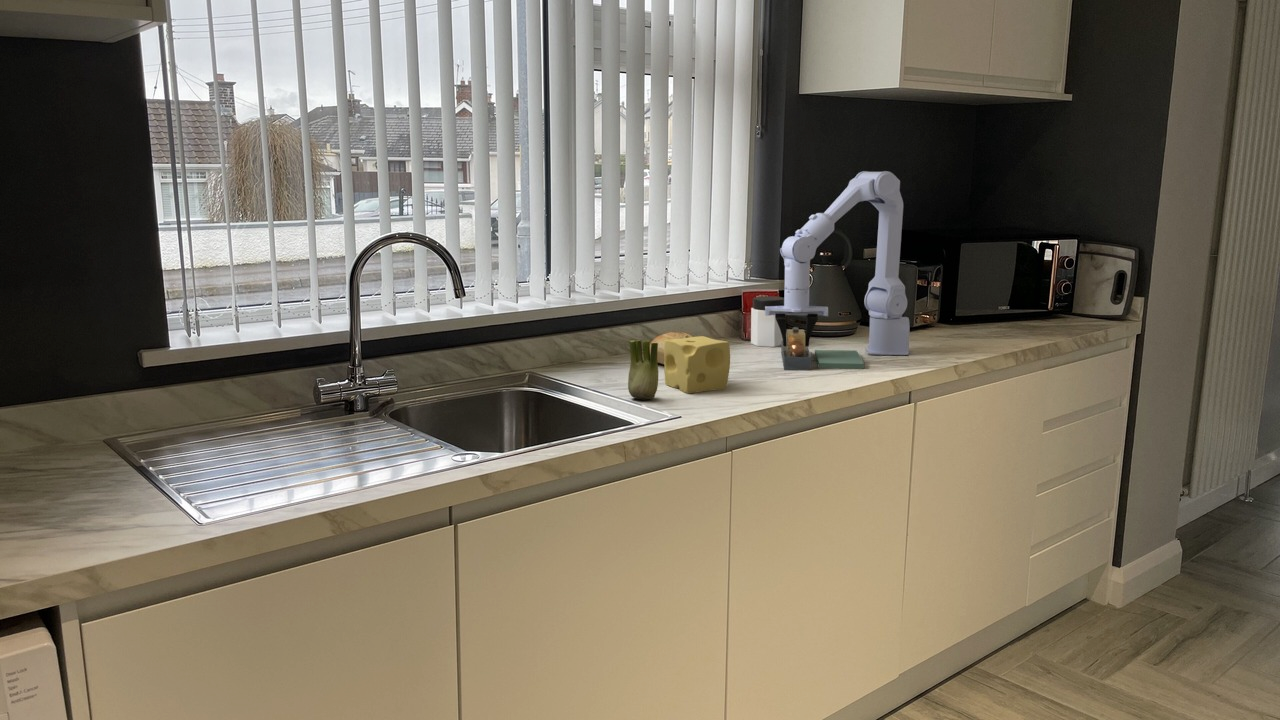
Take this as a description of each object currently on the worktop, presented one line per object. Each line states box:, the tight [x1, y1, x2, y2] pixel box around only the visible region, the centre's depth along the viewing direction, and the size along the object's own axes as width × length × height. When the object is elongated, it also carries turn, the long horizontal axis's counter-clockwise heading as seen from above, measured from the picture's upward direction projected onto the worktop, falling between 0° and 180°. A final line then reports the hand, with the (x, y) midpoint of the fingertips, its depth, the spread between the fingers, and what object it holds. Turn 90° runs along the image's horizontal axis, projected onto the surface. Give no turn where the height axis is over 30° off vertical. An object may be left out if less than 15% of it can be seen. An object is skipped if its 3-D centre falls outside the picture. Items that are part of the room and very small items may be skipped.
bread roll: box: [650, 331, 693, 365], centre depth 226 cm, size 10×15×8 cm, turn 41°
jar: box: [750, 295, 784, 348], centre depth 251 cm, size 9×8×12 cm
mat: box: [814, 349, 865, 370], centre depth 229 cm, size 10×16×1 cm, turn 174°
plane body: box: [780, 340, 812, 371], centre depth 230 cm, size 20×6×6 cm, turn 174°
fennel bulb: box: [627, 339, 659, 401], centre depth 194 cm, size 6×5×12 cm
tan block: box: [786, 326, 806, 352], centre depth 229 cm, size 7×4×5 cm, turn 174°
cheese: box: [663, 335, 731, 395], centre depth 204 cm, size 10×11×10 cm
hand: (795, 345), depth 230 cm, fingers open, 4 cm apart
